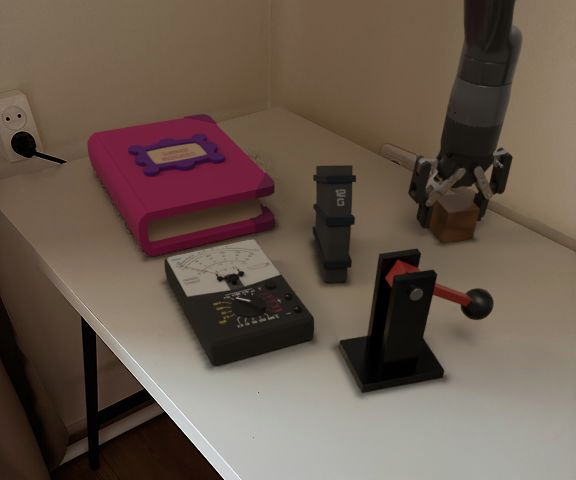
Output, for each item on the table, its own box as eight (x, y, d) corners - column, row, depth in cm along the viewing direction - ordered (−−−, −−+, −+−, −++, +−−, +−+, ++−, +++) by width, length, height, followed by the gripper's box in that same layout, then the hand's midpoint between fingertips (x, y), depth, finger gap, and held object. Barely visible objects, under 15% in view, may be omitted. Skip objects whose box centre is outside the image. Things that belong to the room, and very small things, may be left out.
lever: (470, 310, 75) (490, 286, 74) (485, 329, 73) (505, 305, 71) (379, 278, 68) (398, 251, 66) (392, 298, 66) (412, 270, 64)
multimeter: (212, 369, 73) (210, 336, 70) (165, 279, 86) (161, 247, 82) (314, 341, 78) (317, 308, 74) (255, 259, 90) (255, 228, 86)
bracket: (414, 334, 79) (435, 237, 69) (442, 378, 73) (469, 279, 64) (338, 347, 77) (349, 249, 67) (361, 393, 71) (376, 293, 62)
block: (457, 222, 99) (464, 192, 95) (472, 239, 95) (480, 208, 92) (427, 226, 98) (433, 196, 94) (441, 243, 94) (448, 212, 91)
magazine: (326, 287, 83) (326, 165, 78) (312, 272, 95) (311, 166, 90) (354, 286, 83) (356, 165, 78) (337, 271, 95) (337, 165, 90)
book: (143, 260, 89) (135, 211, 84) (92, 174, 107) (83, 129, 101) (278, 227, 96) (278, 180, 91) (209, 152, 114) (206, 109, 108)
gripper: (439, 128, 79) (416, 241, 91) (538, 119, 83) (504, 229, 94) (414, 105, 84) (395, 215, 96) (508, 98, 88) (479, 204, 99)
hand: (449, 222), depth 95 cm, fingers open, 8 cm apart
